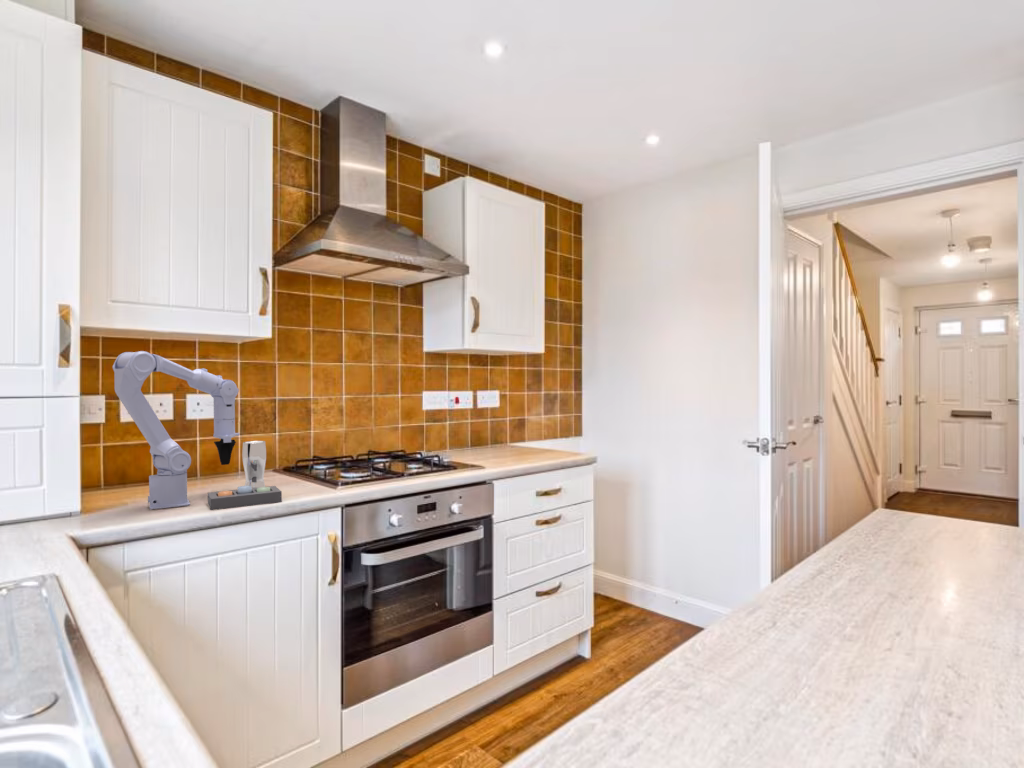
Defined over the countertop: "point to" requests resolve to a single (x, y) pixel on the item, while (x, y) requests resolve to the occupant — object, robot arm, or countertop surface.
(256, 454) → the beer glass
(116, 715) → the countertop surface
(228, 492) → the orange button
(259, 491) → the green button
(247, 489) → the blue button
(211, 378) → the robot arm
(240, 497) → the button panel
